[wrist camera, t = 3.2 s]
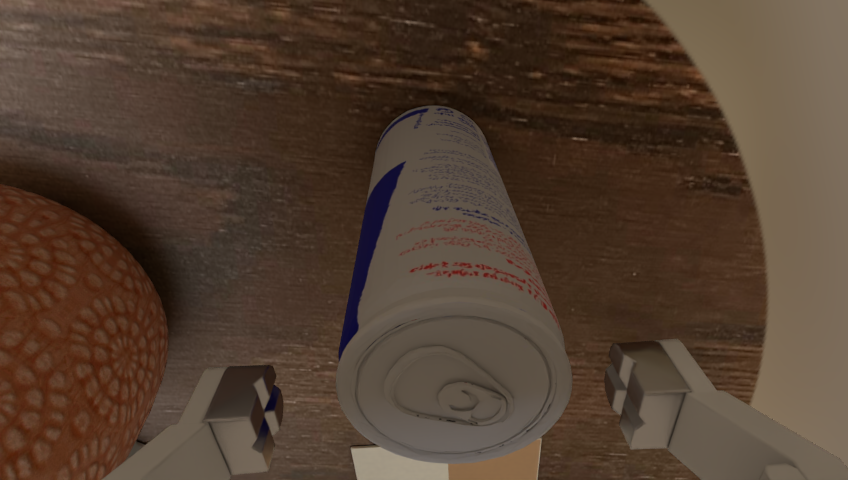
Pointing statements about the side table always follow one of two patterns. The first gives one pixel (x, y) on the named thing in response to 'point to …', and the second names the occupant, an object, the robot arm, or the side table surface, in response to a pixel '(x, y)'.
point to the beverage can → (447, 304)
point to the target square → (445, 466)
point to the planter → (72, 343)
